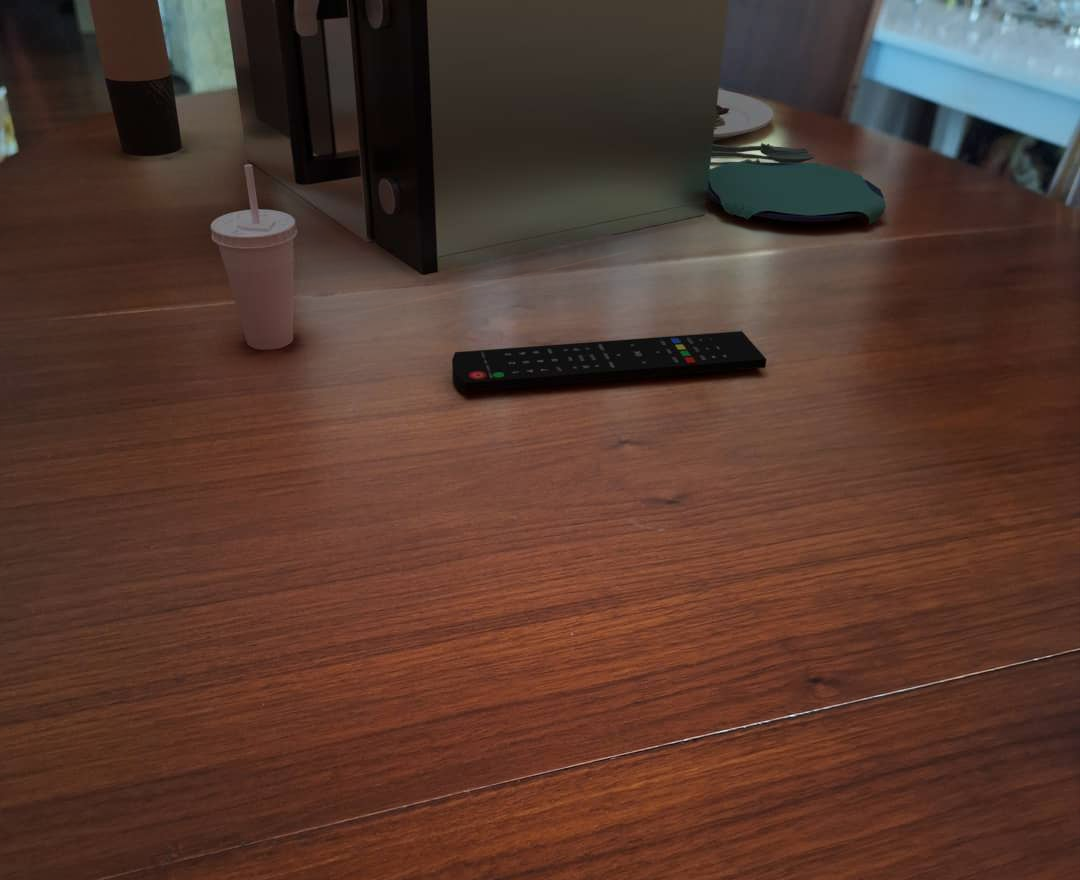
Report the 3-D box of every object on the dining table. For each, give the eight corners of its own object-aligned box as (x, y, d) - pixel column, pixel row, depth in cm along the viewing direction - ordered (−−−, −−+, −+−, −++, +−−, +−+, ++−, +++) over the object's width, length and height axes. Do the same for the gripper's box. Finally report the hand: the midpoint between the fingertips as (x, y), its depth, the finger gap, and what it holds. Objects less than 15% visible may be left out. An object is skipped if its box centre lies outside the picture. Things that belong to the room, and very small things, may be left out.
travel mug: (169, 137, 134) (136, -39, 122) (194, 150, 129) (163, -32, 117) (110, 147, 130) (71, -35, 118) (134, 161, 125) (96, -27, 113)
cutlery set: (713, 234, 107) (716, 212, 106) (676, 154, 131) (678, 135, 130) (904, 236, 108) (909, 214, 106) (831, 156, 132) (835, 137, 131)
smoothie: (252, 364, 81) (223, 181, 73) (215, 336, 85) (184, 160, 77) (324, 343, 84) (305, 166, 76) (286, 317, 88) (264, 147, 80)
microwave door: (314, 252, 100) (278, -80, 84) (202, 166, 123) (156, -108, 107) (381, 240, 104) (358, -82, 88) (259, 158, 126) (223, -110, 110)
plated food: (774, 157, 131) (778, 129, 129) (541, 143, 135) (541, 115, 133) (769, 102, 156) (772, 78, 154) (571, 92, 159) (572, 68, 157)
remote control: (764, 375, 81) (766, 359, 80) (458, 400, 76) (457, 383, 76) (739, 346, 85) (741, 331, 84) (448, 368, 81) (447, 352, 80)
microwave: (415, 278, 96) (396, -72, 80) (243, 162, 125) (203, -111, 109) (705, 214, 112) (738, -87, 96) (492, 125, 142) (490, -117, 126)
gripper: (196, -161, 90) (222, 16, 98) (290, -150, 76) (311, 55, 84) (265, -161, 93) (285, 10, 101) (368, -150, 79) (381, 48, 87)
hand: (297, 31), depth 92 cm, fingers closed on microwave door, 2 cm apart
